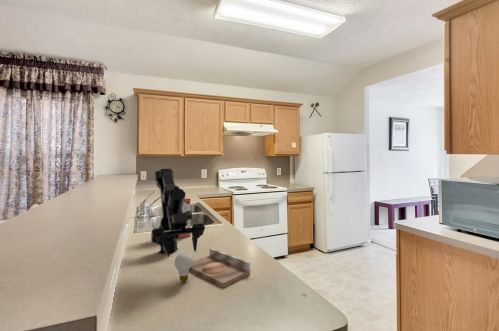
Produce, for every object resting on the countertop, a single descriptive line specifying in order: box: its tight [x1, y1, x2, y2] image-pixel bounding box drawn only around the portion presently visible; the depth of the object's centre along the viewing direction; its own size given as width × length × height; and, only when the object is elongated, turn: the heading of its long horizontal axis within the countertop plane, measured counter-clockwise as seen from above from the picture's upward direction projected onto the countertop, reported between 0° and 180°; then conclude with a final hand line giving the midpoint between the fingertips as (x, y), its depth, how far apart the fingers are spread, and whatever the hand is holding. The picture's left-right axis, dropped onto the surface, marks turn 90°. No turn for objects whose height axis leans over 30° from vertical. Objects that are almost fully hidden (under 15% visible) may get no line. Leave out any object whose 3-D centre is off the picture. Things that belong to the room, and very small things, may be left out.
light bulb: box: [174, 252, 193, 283], centre depth 88 cm, size 6×6×10 cm
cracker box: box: [161, 196, 192, 239], centre depth 138 cm, size 14×6×21 cm, turn 117°
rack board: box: [189, 247, 251, 288], centre depth 96 cm, size 22×13×4 cm, turn 48°
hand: (182, 253), depth 90 cm, fingers open, 9 cm apart
